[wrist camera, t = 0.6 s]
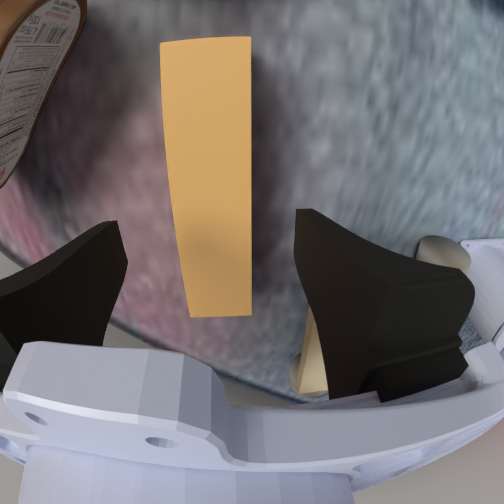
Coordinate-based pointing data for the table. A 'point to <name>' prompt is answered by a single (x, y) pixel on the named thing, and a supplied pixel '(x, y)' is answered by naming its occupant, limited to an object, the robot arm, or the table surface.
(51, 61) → the tin
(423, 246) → the trolley
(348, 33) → the table surface
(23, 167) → the table surface
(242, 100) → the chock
